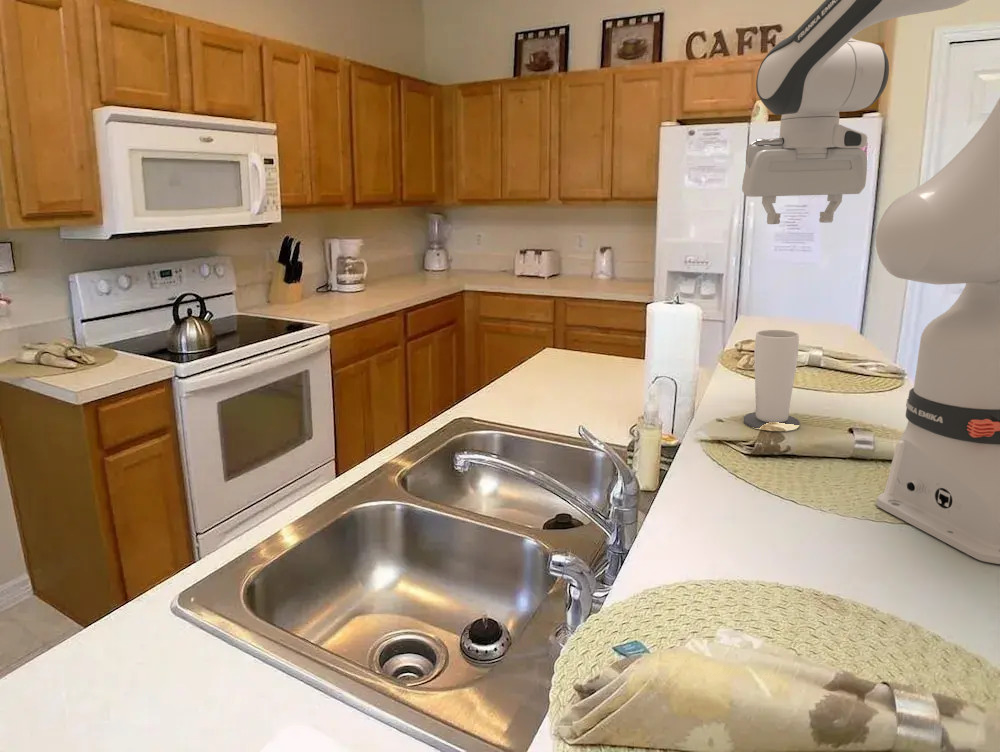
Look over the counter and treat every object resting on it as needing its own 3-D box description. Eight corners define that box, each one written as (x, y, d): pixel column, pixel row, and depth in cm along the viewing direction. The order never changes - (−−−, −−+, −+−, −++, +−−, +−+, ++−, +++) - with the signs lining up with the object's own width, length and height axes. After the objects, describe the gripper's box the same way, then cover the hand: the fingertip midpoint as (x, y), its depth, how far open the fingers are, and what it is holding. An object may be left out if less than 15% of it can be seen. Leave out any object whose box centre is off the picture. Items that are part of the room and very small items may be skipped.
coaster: (810, 430, 114) (810, 427, 114) (757, 433, 113) (757, 430, 113) (783, 413, 122) (783, 410, 122) (734, 416, 122) (734, 413, 121)
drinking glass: (795, 426, 114) (802, 337, 110) (752, 424, 115) (757, 337, 112) (789, 414, 120) (796, 329, 116) (749, 412, 122) (753, 329, 118)
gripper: (756, 137, 109) (749, 226, 113) (877, 135, 111) (866, 222, 115) (739, 139, 115) (733, 223, 119) (854, 137, 117) (844, 220, 121)
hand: (799, 223), depth 117 cm, fingers open, 8 cm apart
